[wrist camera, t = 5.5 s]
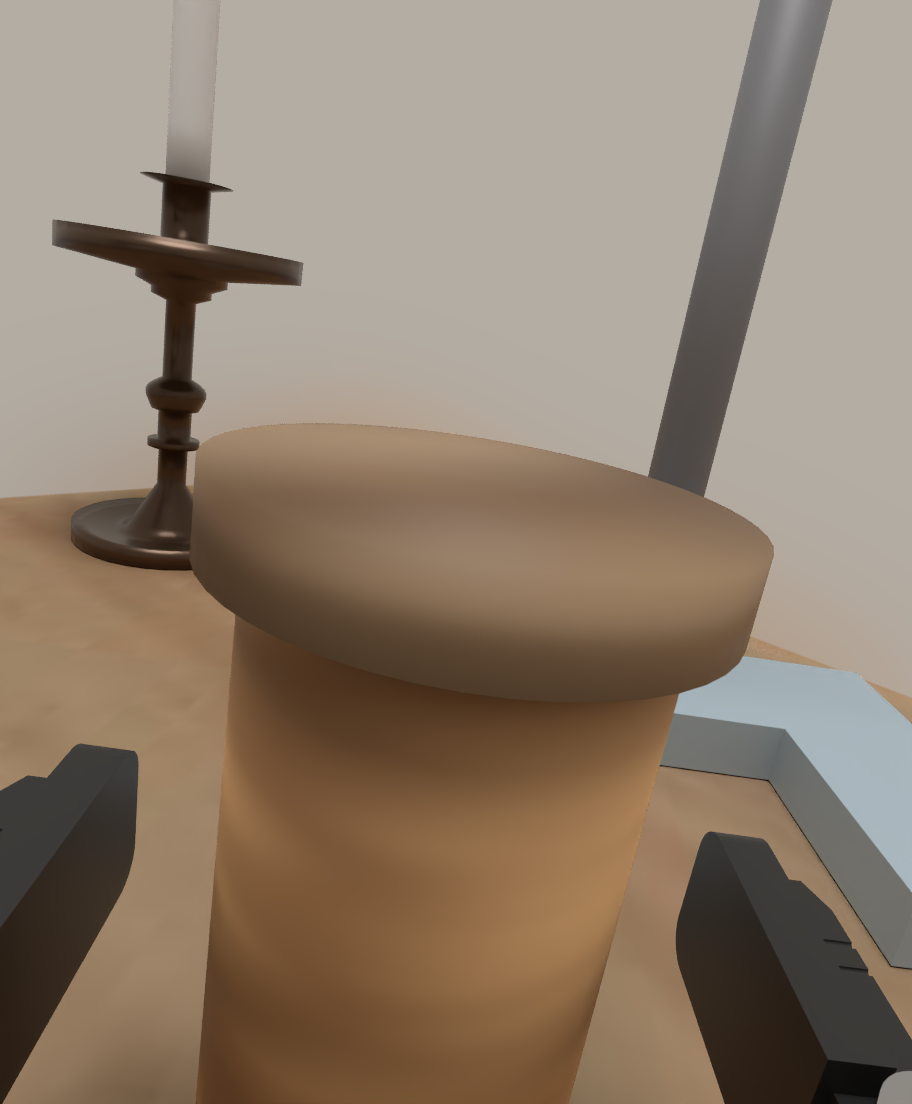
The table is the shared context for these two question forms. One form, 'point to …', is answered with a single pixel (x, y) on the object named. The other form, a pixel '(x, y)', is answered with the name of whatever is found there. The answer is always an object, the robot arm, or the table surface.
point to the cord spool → (439, 749)
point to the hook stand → (685, 461)
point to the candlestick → (172, 301)
